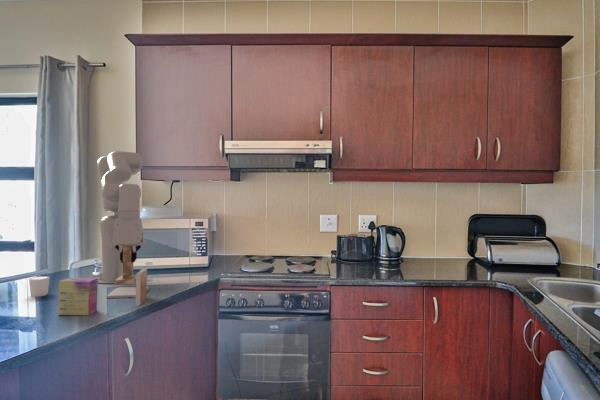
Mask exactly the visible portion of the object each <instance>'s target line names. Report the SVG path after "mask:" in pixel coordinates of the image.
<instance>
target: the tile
mask: <svg viewBox="0 0 600 400" xmlns="http://www.w3.org/2000/svg"><path fill="white" fill-rule="evenodd" d="M135 276H136V283H135V287H136V297H135V305H136V304H140V305H142V303H143V302H144V301H145V300H146V299H147V297H148V296H147V295H148V290H147V287H148V268H147V267H143V268H142V269H140V270H139V271H138V272H136V273H135ZM145 298H146V299H145ZM144 299H145V300H144ZM143 300H144V301H143Z"/></svg>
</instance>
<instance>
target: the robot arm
mask: <svg viewBox="0 0 600 400" xmlns="http://www.w3.org/2000/svg"><path fill="white" fill-rule="evenodd" d="M143 164H144V163H143V157H142V156H141V154H140V153H137V152H134V151H133V152H131V151H120V150H115V151H112V152H110V153H109V154H108V155H107V156H101V157H100V158H98V159H97V166H96V167H97V172H98V176H99V178H100V180H101V181H100V191H101V196H102V203H103V207H102V208H103V210H104V211H105V212H106V213H110V214H112V213H113V214H112V215H106V216H103V217H102V218H101V219H100V222H99V228H100V229H99V230H100V234H101V269H100V270H101V271H100V272H92V274H91V278H92V277H93V278H98V283H99V284H115V280H116V279H117V278H119V277H120V276H123V246H125V245H132V249H133V251H132V253H131V262H132V263H133V264H134V263H135V262H136V261H137V259H138V257H137V255H138V253H137V252H138V251H139V250H140V249H141V248H143V247H144V246H146V245H147V241H146V239H144V228H143V221H142V218H141V212H140V209H141V208H140V207H141V206H140V201H141V200H140V199H141V195H142V190H141V187H140V186H139V184H137V183H126V182H128V181H129V180H130V179H131V177H132V176H135V175H137V174H138V173H140V171H142V168H143Z"/></svg>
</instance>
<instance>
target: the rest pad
mask: <svg viewBox="0 0 600 400" xmlns="http://www.w3.org/2000/svg"><path fill="white" fill-rule="evenodd" d="M149 288H150V287H149V286H147V291H148V290H149ZM128 297H132V298H136V286H130V287H129V286H126V287H124V286H122V287H121V286H120V287H116V288H115V289H114V290H112V291H111V292H110V293H108V294H107V295H106V299H123V298H124V299H125V298H128Z"/></svg>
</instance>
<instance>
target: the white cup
mask: <svg viewBox="0 0 600 400" xmlns="http://www.w3.org/2000/svg"><path fill="white" fill-rule="evenodd" d="M50 279H51V277H50V276H48V275H47V276H43V275H42V276H41V275H40V276H34V277H31V278H28V281H29V290H30V297H35V298H36V297H37V298H38V297H43V296H47V295H48V293H49V288H50V287H49V285H50Z"/></svg>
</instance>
